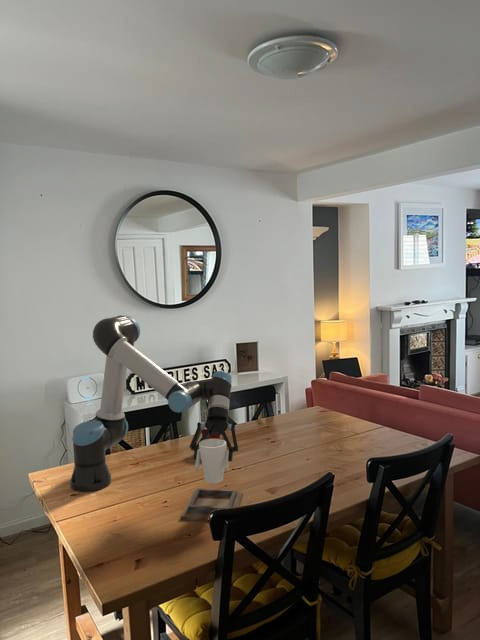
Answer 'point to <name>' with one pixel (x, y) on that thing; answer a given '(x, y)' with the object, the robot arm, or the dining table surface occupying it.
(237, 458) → the dining table surface
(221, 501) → the holder board
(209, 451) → the foam cup
